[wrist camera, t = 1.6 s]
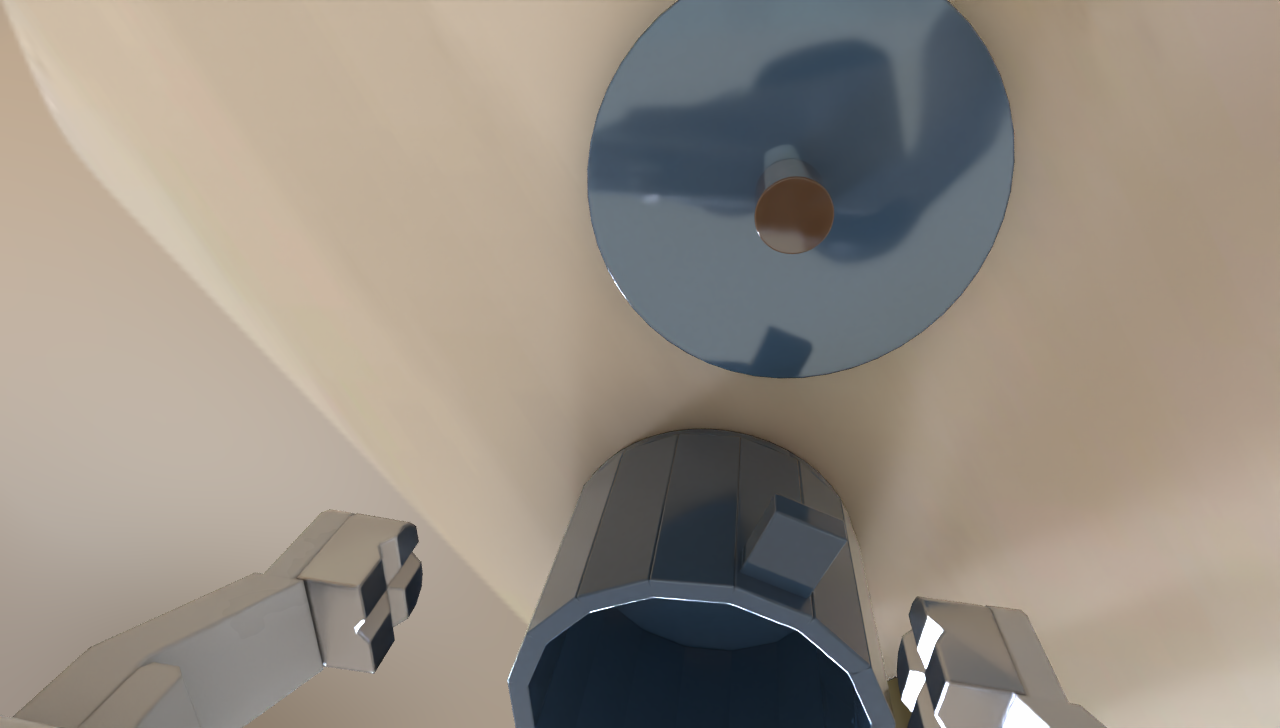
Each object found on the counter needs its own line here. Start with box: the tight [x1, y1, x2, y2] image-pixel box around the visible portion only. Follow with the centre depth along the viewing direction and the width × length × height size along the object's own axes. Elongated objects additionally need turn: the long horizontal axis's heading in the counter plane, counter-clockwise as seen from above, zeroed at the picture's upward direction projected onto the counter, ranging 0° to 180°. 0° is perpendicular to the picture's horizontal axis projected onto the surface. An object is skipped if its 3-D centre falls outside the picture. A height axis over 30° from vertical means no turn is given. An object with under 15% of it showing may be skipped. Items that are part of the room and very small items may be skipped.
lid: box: [587, 0, 1015, 378], centre depth 23 cm, size 15×15×5 cm
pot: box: [508, 429, 896, 728], centre depth 28 cm, size 14×19×10 cm
